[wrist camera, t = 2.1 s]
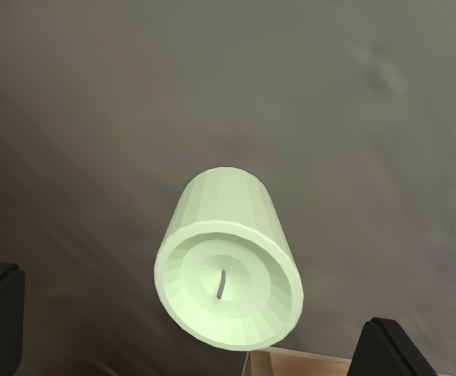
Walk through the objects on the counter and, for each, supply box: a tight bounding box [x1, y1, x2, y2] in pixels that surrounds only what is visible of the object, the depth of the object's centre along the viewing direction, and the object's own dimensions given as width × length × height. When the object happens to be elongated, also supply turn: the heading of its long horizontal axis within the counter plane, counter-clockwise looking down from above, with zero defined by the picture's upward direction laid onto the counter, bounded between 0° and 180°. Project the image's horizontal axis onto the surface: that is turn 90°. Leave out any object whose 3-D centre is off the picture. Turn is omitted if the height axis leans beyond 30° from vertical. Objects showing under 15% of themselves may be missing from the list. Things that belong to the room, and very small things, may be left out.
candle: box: [154, 167, 304, 351], centre depth 15 cm, size 5×5×8 cm
